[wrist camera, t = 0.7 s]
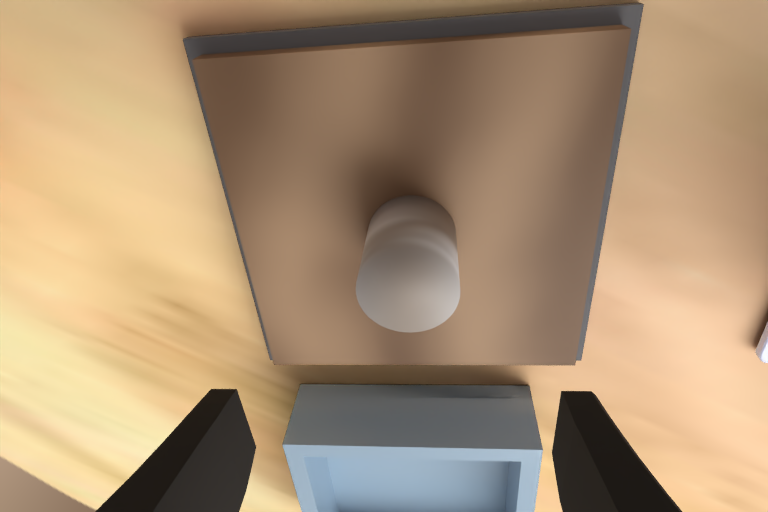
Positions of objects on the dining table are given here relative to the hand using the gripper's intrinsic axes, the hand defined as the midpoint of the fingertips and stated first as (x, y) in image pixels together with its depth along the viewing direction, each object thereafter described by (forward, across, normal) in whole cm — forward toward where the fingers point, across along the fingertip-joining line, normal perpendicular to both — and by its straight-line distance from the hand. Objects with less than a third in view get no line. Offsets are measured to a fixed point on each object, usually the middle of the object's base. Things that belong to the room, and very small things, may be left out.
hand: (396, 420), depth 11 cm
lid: (+9, 0, 0) cm, 9 cm away
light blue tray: (+10, 0, +14) cm, 17 cm away
